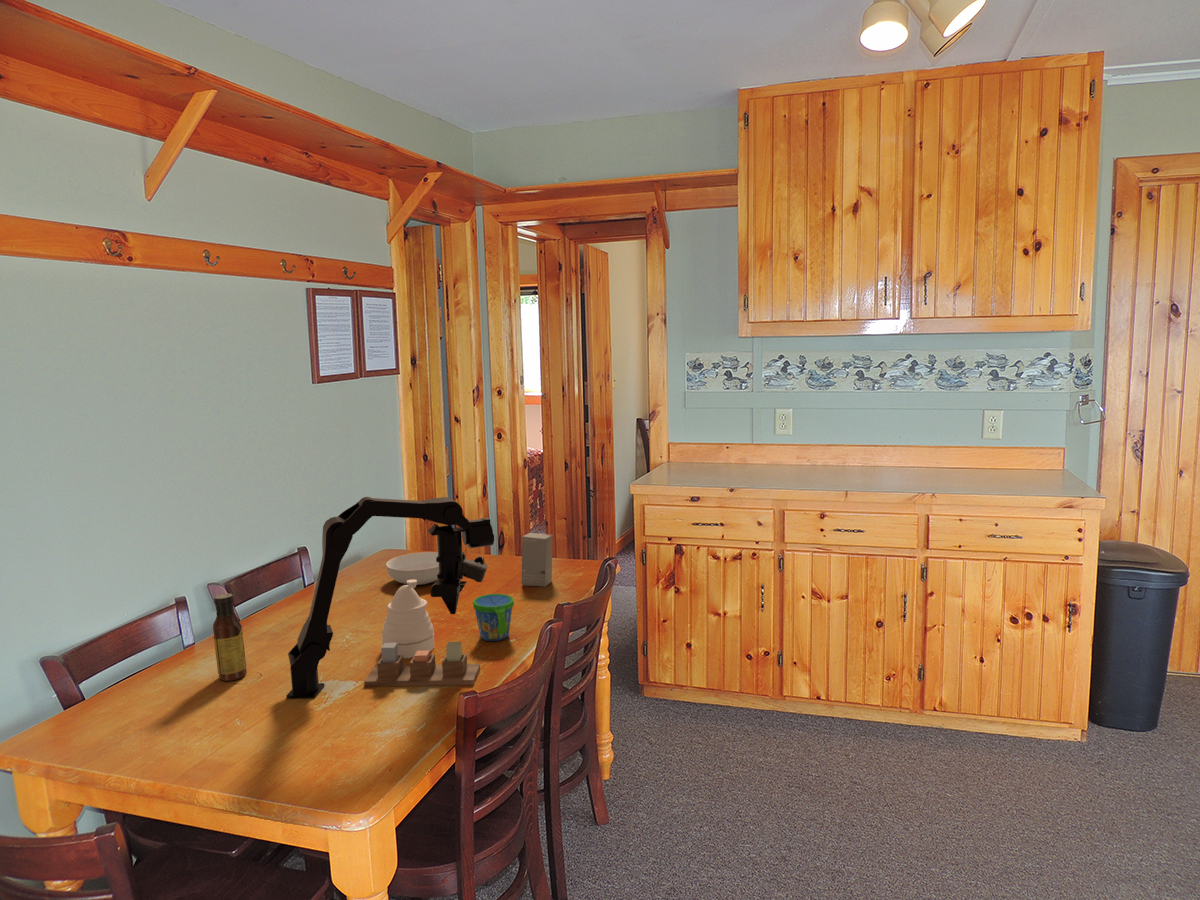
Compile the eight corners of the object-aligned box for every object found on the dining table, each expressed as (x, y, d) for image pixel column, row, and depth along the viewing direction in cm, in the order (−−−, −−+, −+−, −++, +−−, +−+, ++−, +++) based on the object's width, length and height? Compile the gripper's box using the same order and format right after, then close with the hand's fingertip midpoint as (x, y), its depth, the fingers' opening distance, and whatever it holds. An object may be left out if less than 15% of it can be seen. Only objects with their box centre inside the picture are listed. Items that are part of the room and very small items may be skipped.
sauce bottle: (252, 674, 193) (245, 594, 190) (229, 684, 188) (221, 601, 185) (235, 669, 197) (228, 590, 194) (211, 678, 191) (204, 597, 188)
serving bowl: (385, 575, 272) (384, 555, 271) (448, 569, 278) (447, 549, 277) (388, 594, 252) (387, 572, 251) (456, 586, 258) (455, 565, 257)
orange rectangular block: (428, 675, 188) (427, 655, 187) (415, 675, 188) (414, 655, 187) (431, 669, 191) (429, 650, 190) (418, 670, 191) (417, 650, 190)
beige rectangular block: (460, 666, 187) (459, 646, 186) (447, 666, 187) (446, 646, 186) (462, 661, 190) (461, 641, 189) (449, 661, 190) (448, 641, 189)
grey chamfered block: (395, 667, 187) (394, 647, 187) (382, 667, 188) (381, 647, 187) (398, 662, 190) (397, 642, 190) (386, 662, 190) (384, 642, 190)
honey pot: (443, 641, 212) (439, 574, 209) (419, 660, 199) (415, 589, 197) (399, 637, 215) (395, 571, 213) (373, 656, 203) (368, 586, 200)
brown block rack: (473, 685, 184) (472, 665, 184) (364, 686, 185) (363, 667, 184) (480, 668, 193) (479, 650, 193) (375, 670, 194) (374, 651, 193)
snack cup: (520, 645, 208) (519, 606, 206) (479, 650, 205) (477, 611, 203) (509, 624, 223) (507, 588, 221) (470, 629, 220) (468, 593, 218)
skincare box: (521, 585, 257) (519, 537, 255) (529, 579, 264) (528, 531, 261) (546, 587, 254) (544, 538, 252) (554, 580, 261) (552, 533, 259)
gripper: (477, 561, 184) (480, 627, 186) (489, 540, 202) (492, 600, 204) (428, 562, 184) (431, 628, 186) (445, 541, 202) (448, 601, 205)
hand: (453, 613), depth 195 cm, fingers closed
